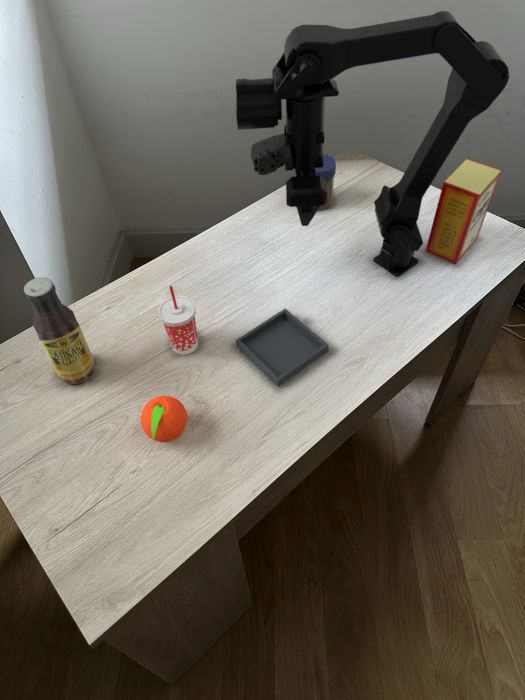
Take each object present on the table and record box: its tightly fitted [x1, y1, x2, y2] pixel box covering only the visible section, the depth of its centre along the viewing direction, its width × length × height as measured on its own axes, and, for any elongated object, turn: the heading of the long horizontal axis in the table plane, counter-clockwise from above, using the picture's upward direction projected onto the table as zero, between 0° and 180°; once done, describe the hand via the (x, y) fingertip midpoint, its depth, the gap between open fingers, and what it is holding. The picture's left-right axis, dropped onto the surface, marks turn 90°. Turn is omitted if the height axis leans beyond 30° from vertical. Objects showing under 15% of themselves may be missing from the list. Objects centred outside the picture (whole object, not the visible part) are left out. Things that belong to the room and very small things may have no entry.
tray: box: [235, 308, 329, 388], centre depth 89 cm, size 11×11×2 cm
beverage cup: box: [157, 285, 199, 355], centre depth 85 cm, size 6×6×14 cm
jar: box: [317, 176, 335, 212], centre depth 111 cm, size 6×6×9 cm
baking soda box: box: [425, 158, 503, 265], centre depth 98 cm, size 10×6×16 cm
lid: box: [316, 153, 337, 181], centre depth 108 cm, size 7×7×2 cm
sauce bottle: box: [23, 276, 95, 385], centre depth 80 cm, size 7×6×20 cm
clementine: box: [140, 395, 188, 443], centre depth 77 cm, size 8×7×7 cm
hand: (303, 208), depth 91 cm, fingers open, 9 cm apart
